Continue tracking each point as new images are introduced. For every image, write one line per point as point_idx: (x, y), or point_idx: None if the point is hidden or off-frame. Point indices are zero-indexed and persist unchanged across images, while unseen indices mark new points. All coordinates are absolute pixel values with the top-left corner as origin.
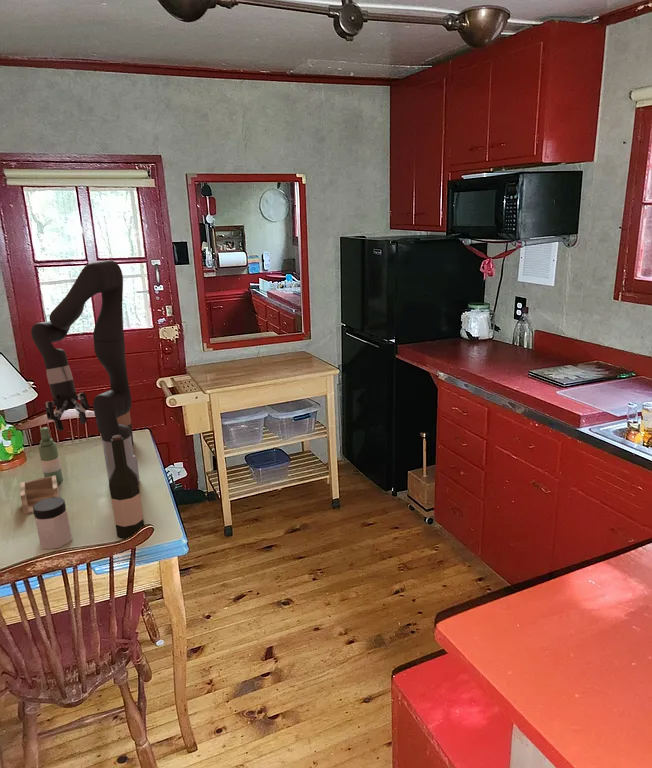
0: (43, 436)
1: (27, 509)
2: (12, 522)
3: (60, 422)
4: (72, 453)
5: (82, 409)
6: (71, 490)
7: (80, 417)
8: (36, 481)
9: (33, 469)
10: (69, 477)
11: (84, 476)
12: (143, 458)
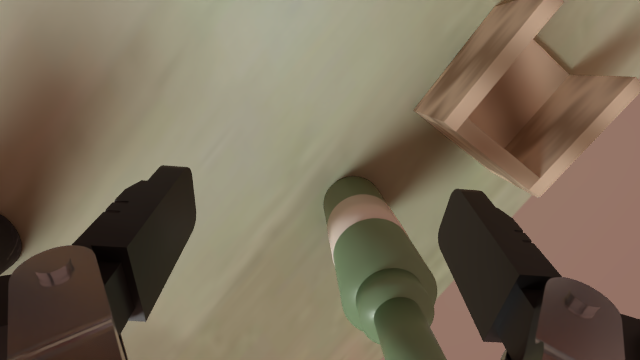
0: (434, 336)
1: (579, 75)
2: (621, 75)
3: (520, 246)
4: (165, 332)
5: (57, 293)
6: (380, 83)
7: (167, 253)
8: (508, 152)
9: (314, 335)
10: (305, 183)
11: (273, 137)
12: (9, 33)
